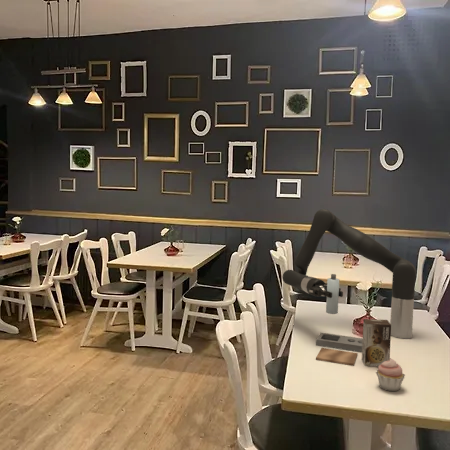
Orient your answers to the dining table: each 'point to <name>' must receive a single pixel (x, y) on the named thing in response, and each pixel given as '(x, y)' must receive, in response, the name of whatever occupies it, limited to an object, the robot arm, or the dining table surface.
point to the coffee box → (376, 342)
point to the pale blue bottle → (334, 289)
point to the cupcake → (390, 375)
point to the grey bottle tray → (339, 342)
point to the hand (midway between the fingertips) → (336, 294)
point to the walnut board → (337, 356)
